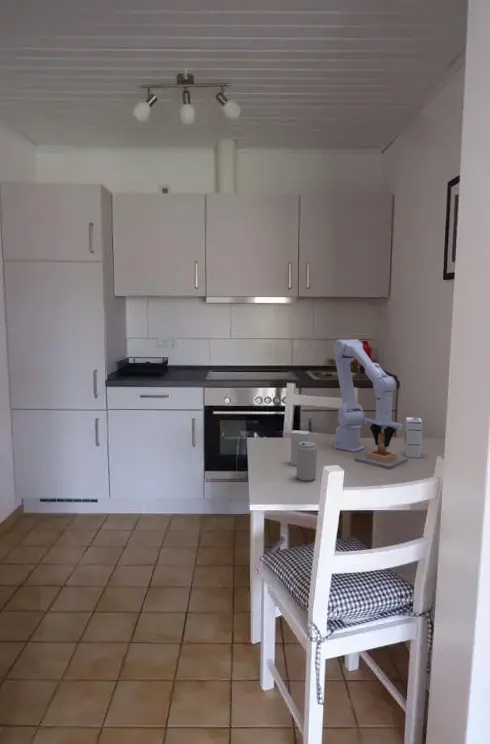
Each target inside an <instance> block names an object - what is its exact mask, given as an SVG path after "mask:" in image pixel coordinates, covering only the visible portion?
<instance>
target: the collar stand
mask: <svg viewBox="0 0 490 744" xmlns="http://www.w3.org/2000/svg"><path fill="white" fill-rule="evenodd" d="M377 449H378V448H376V449H373V450H370V451H368V452H366V453H364V454H362V455H359V456H357V457H355V458H354V461H355V462H359V463H363V464H366V465H371V466H375V467H378V468H383V469H388V470H392V469H393V468H396V467H398V466H399V465H402V464H403V463H407V462H408V459H409V457H406V456H405V457H403V456H400V455H398V452H394V451H389V450H386V453H379V452H377Z"/></svg>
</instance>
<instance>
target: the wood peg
mask: <svg viewBox="0 0 490 744" xmlns="http://www.w3.org/2000/svg"><path fill="white" fill-rule="evenodd" d="M387 448H388V447H385V434H384V432H381V433H378V445H377V448H376V449H377V452H379V453H386V451H387Z"/></svg>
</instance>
